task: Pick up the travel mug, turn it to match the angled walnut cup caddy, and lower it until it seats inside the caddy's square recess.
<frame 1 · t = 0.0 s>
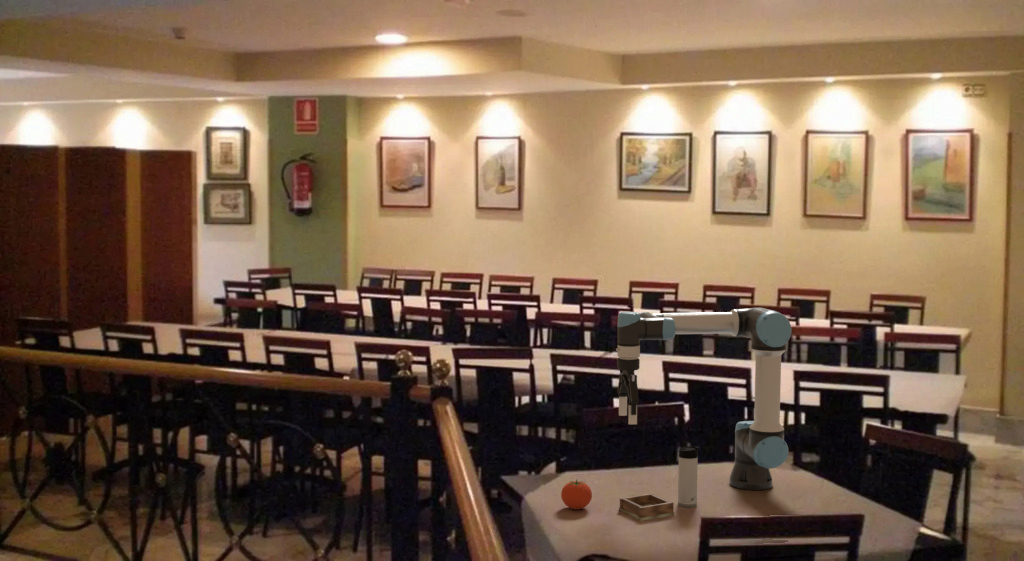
hand: (627, 419, 354), 28 cm above the table, fingers open, 13 cm apart
travel mug: (687, 505, 351), on the table
walnut caddy: (646, 512, 343), on the table
tomato: (576, 509, 347), on the table
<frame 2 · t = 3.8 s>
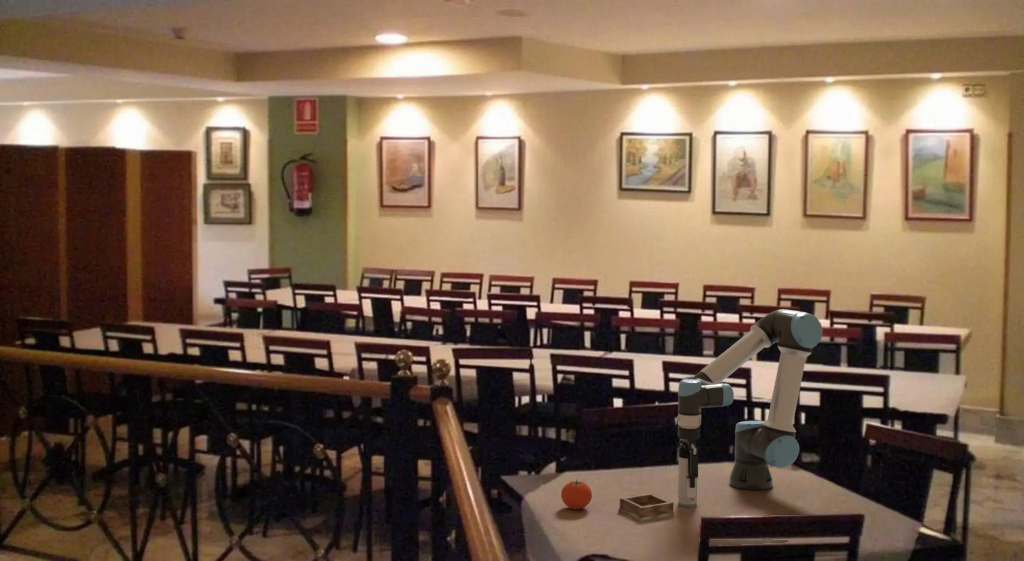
hand: (688, 493, 351), 4 cm above the table, fingers closed on travel mug, 6 cm apart
travel mug: (687, 505, 351), on the table, touching gripper
everything else where it was.
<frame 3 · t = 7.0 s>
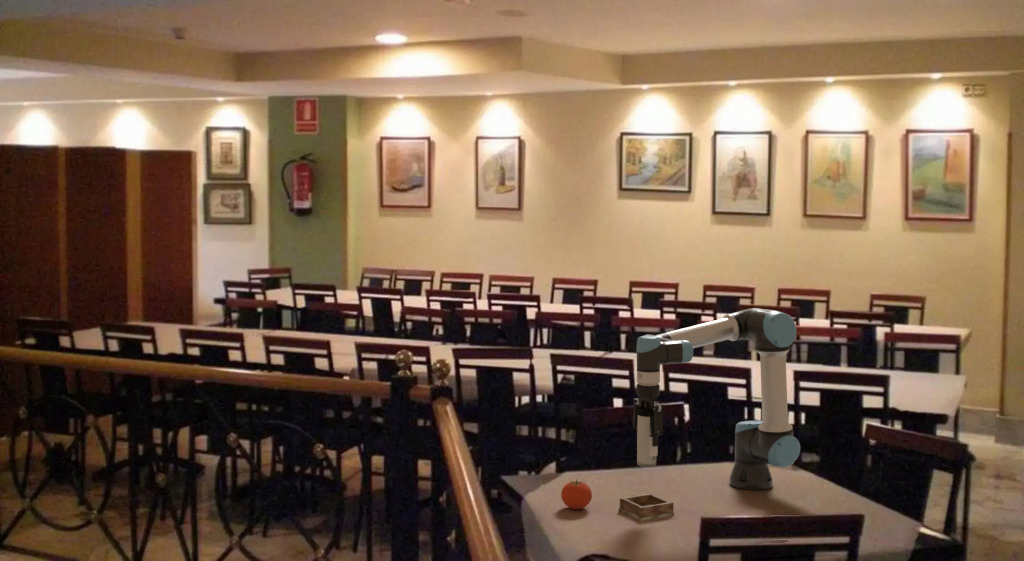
hand: (647, 453, 342), 20 cm above the table, fingers closed on travel mug, 6 cm apart
travel mug: (647, 465, 342), point 16 cm above the table, touching gripper
everything else where it was.
when the fingers open (7 cm above the table, at t = 10.2 s): travel mug drops 2 cm, resting on walnut caddy.
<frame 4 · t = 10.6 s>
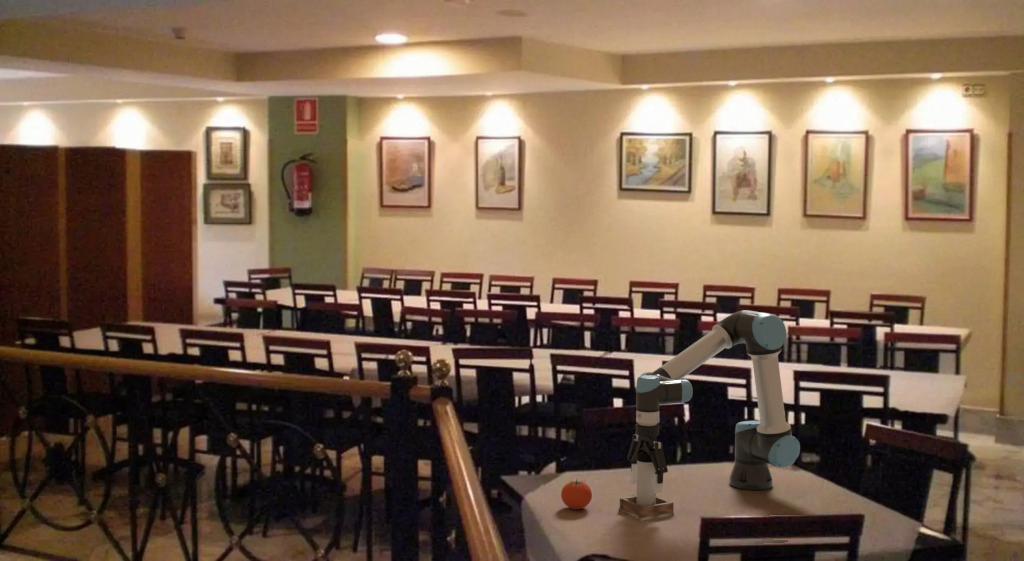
hand: (646, 487, 342), 8 cm above the table, fingers open, 12 cm apart
travel mug: (646, 510, 343), point 1 cm above the table, touching walnut caddy
everything else where it was.
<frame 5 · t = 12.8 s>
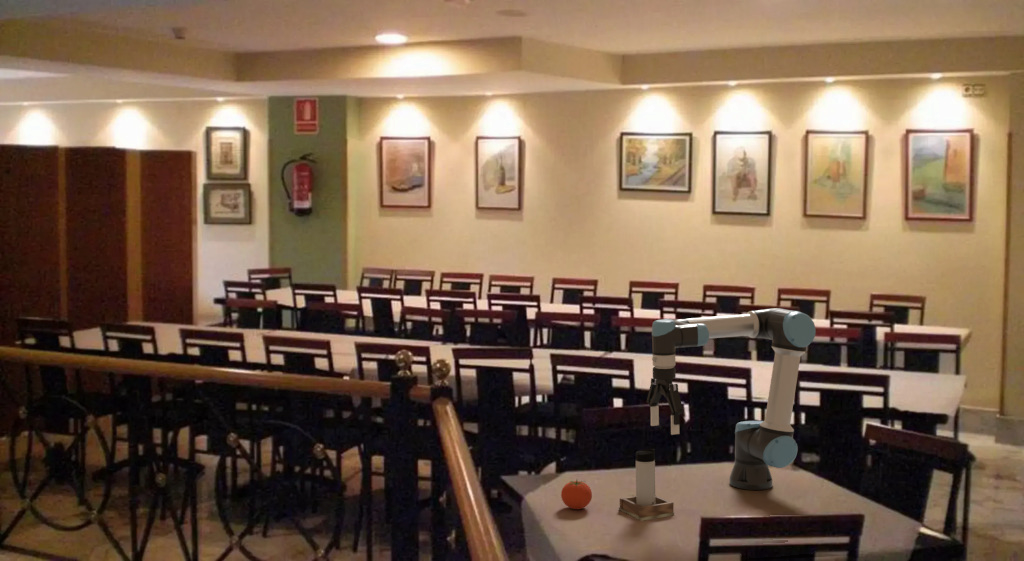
hand: (664, 429, 348), 26 cm above the table, fingers open, 13 cm apart
nothing on the table moved.
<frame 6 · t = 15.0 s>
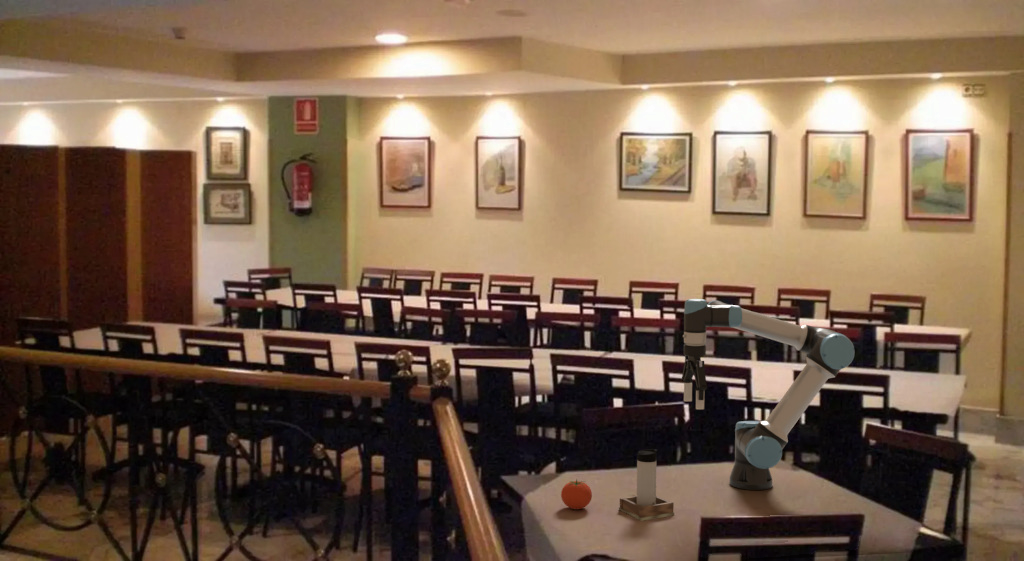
hand: (693, 405, 360), 32 cm above the table, fingers open, 13 cm apart
nothing on the table moved.
at the end: travel mug 0.1 cm off-centre on the walnut caddy, point 0.6 cm above the walnut caddy's base; travel mug tilted 1°; the gripper is holding nothing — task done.
